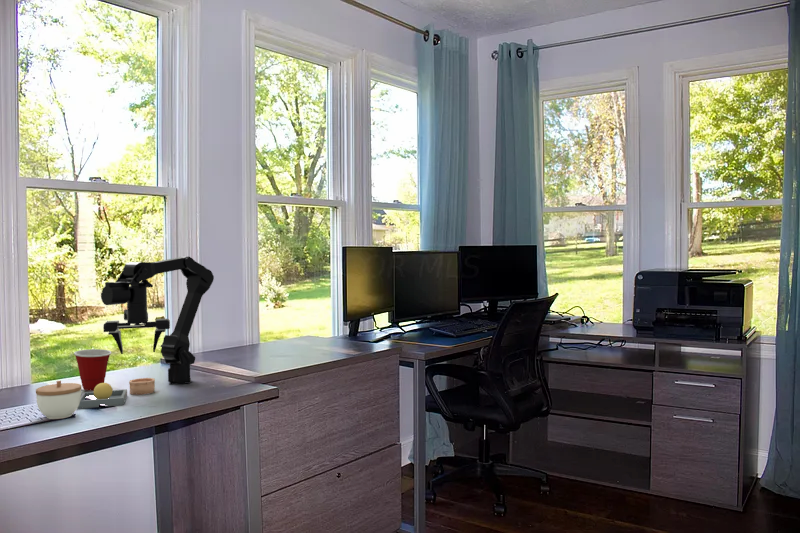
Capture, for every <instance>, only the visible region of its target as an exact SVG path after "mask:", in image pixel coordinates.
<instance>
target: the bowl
mask: <svg viewBox="0 0 800 533" xmlns="http://www.w3.org/2000/svg"><path fill="white" fill-rule="evenodd" d="M155 380H156V379H155V378H151V377H143V378H142V377H141V378H135V379H130V380H129V382H128V385H129V395H133V396H134V395H136V396H138V395H142V396H143V395H149V394H152V393H154V392H156V390H155V389H156V385H155V384H156V383H155Z"/></svg>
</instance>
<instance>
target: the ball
mask: <svg viewBox="0 0 800 533" xmlns="http://www.w3.org/2000/svg"><path fill="white" fill-rule="evenodd" d="M93 392H94V396H95V397H96V398H97V399H108V398H109V397H110V396H111V395H112V392H113V387H112V386H111V384H109V383H107V382H104V383H100V384H98V385H97V386H96V387H95V388H94V390H93Z"/></svg>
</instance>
